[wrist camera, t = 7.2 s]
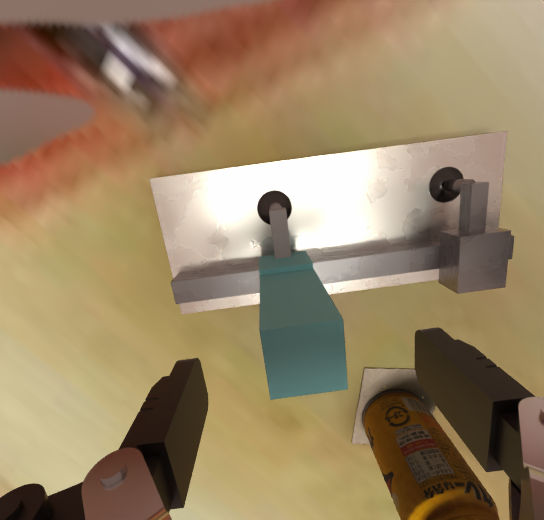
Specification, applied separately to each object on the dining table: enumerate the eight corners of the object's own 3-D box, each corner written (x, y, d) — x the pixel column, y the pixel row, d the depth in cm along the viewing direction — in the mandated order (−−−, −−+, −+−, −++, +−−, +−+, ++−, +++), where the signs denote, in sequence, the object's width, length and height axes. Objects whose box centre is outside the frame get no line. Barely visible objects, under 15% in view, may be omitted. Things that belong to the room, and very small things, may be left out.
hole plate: (490, 133, 21) (568, 119, 16) (480, 266, 24) (543, 292, 18) (157, 178, 21) (121, 179, 15) (186, 305, 24) (165, 343, 18)
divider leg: (296, 199, 20) (337, 224, 9) (306, 290, 22) (348, 395, 11) (252, 205, 20) (245, 237, 9) (266, 296, 22) (271, 406, 11)
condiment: (351, 442, 28) (414, 624, 17) (363, 367, 26) (447, 519, 14) (424, 442, 29) (534, 622, 17) (442, 369, 26) (585, 518, 15)
